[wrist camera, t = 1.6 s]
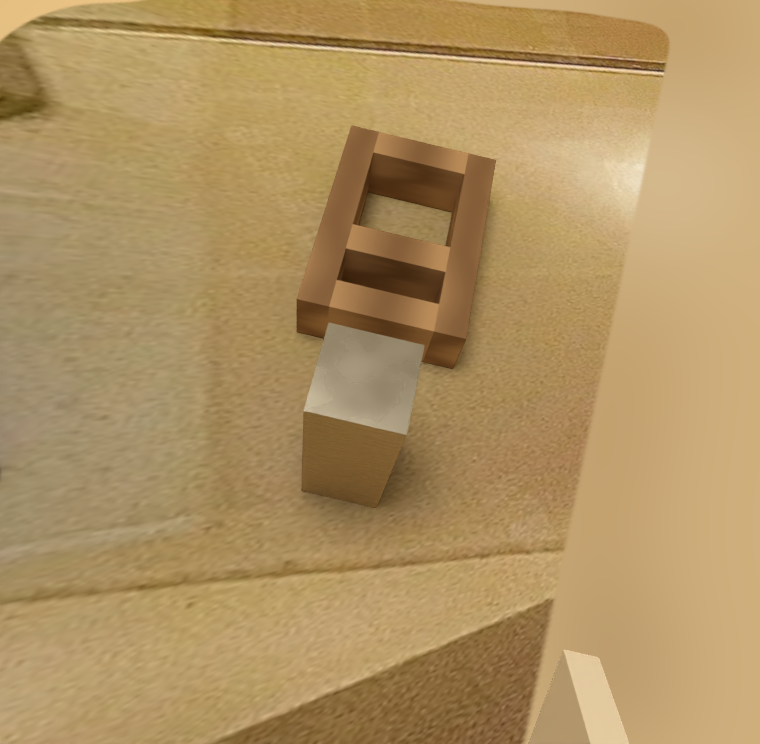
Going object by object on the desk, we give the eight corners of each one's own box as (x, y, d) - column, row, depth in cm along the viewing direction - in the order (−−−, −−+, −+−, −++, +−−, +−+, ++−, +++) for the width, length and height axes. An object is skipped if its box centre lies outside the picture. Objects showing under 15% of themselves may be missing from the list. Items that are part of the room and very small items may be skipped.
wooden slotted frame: (296, 331, 43) (296, 298, 40) (347, 166, 50) (351, 125, 47) (452, 368, 43) (466, 339, 40) (481, 198, 50) (496, 160, 47)
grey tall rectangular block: (301, 490, 39) (303, 410, 28) (320, 421, 41) (328, 322, 30) (376, 508, 39) (406, 435, 28) (391, 438, 41) (424, 345, 30)
